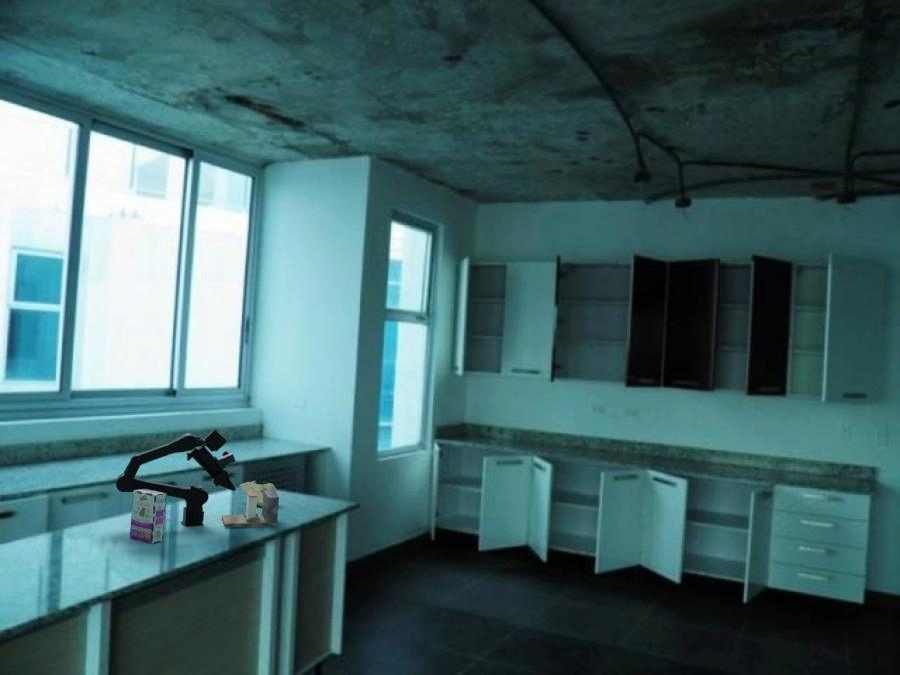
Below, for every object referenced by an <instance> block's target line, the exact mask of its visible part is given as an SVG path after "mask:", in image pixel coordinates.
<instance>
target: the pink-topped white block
mask: <svg viewBox="0 0 900 675" xmlns="http://www.w3.org/2000/svg"><path fill="white" fill-rule="evenodd" d="M257 507H258V505H257V494H256V493H247V495H246V508H245V511H246V512H245V513H246V518H256V513H257Z"/></svg>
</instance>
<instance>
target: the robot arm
mask: <svg viewBox="0 0 900 675" xmlns="http://www.w3.org/2000/svg"><path fill="white" fill-rule="evenodd" d="M227 443H229V441H228V440H227V439H226V438H225V437H224V436H223V435H222V433H220V432H219V431H217V429H216V428H214V429H212V431H211V432H210V433H209V434H208V435H207V436H205V437H198V436H195V435H194V434H192V433H190V432H188V433H184V434H182V435H180V436H179V437H177V438H175V439H173V440H172V441H171V442H168V443H165V444H163V445H160V446H156V447H154V448H152V449H149V450H146V451H143V452H140V453H136V454H134V455H132V456H131V458H130V461H129V462H128V463H127V466H126V468H125V469H124V471H123V473H121V474H119V475H118V476H117V477H116V483H115V487H116V489H117V490H118V491H119V492H121V493H133V491H134V490H139V489H148V490H153V491H158V492H162V493H167V495H166V497H171V498H178V499H183V500H184V503H185V506H184V507H183V509H182V510H183V511H182V521H180V524H182V525H183V526H185V527H196V526H203V525H204V518H205V511H204V507H203V506H204V505H205V504H206V503H207V502H208V501H209V493H208V491H207V490H208V489H206V488H205V487H204V486H202V484H201V483H200V484H196V483H192V482H190V483H189V485H188V486H180V485H174V484H170V483H164V482H158V481H151V480H147V479H143V478H142V477H139V476H137V473H138V471H139V470H140V467H141V466H142V465H144V464H147V463H151V462H154V461H156V460H158V459H161V458H163V457H164V458H165V457H167V456H169V455H172V454H179V453H186V461H190V460H191V459H193V460H194V462H196V463H197V464H198V466H200V467H201V469H202V470H203V472H204V471H205V473H207V475H209V477H210V478H211V479H212V482H213V484H214V485H215V487H222V488H225V489H228V490H230V491H232V492H235V491H236V490H237V488H236V487H235V485H234V483H233V482H232V480H231V479H230V476H231V474H230V472H229V470H228V469H227V465H228V466H229V465H230V464H234V463H235V462H237V460H236V458H235V455H234V453H233V452H231V451H230V452H228V451H227V450H225V451H223V452H222V455H220V457H218V458H217V456H215V455H213V454H212V452H213V453H214V452H219V450H220V449H221V448H223V447H224V446H225V445H226V444H227ZM207 448H208V449H207Z"/></svg>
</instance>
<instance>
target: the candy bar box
mask: <svg viewBox="0 0 900 675" xmlns="http://www.w3.org/2000/svg"><path fill="white" fill-rule="evenodd" d="M166 495H167V493H162V492H158V491H153V490H148V489H139V490H134V491H133V492H132V506H131V517H130V530H129V539H130V540H135V541H138V542H142V543H146V544H150V545H154V544H158V543H162V542H163V541H164V533H165V532H164V530H165V517H166V506H167V504H166V503H167V496H166ZM161 541H162V542H161Z"/></svg>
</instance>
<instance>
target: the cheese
mask: <svg viewBox="0 0 900 675" xmlns="http://www.w3.org/2000/svg"><path fill="white" fill-rule="evenodd" d="M239 489H240V490H241V491H242V492H243V493H244V494H245V495H246V496H247V493H256V494H257V506H259V507H262V504H263V491H264V490H274V491H275V493H276V494H277V493H278V491H277V488H276V486H275V485H274V484H273V483H270V482H268V483H264V484H259V483H258V484H257V483H256V481H255V480H253V481H247V482H244V483H241V484H239ZM277 495H278V494H277Z"/></svg>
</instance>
